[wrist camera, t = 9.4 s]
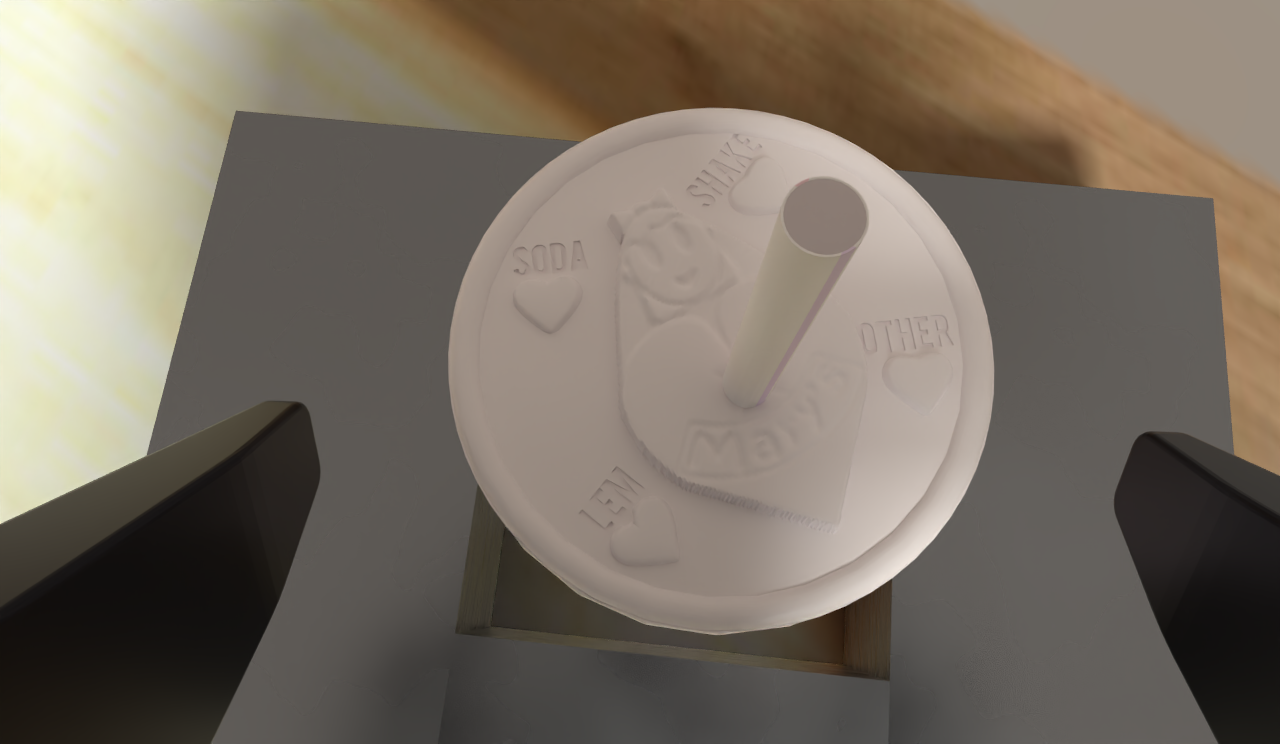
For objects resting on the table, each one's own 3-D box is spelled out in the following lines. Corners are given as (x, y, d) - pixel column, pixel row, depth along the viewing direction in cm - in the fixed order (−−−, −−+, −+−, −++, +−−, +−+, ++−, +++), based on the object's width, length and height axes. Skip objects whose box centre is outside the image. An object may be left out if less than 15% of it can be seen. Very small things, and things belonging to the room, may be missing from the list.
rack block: (1143, 811, 17) (1267, 864, 14) (185, 702, 18) (76, 728, 14) (1116, 265, 20) (1212, 198, 17) (302, 189, 21) (236, 111, 17)
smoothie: (629, 673, 18) (570, 922, 4) (494, 417, 19) (129, -13, 6) (881, 524, 18) (1519, 326, 5) (732, 288, 20) (911, -359, 6)
